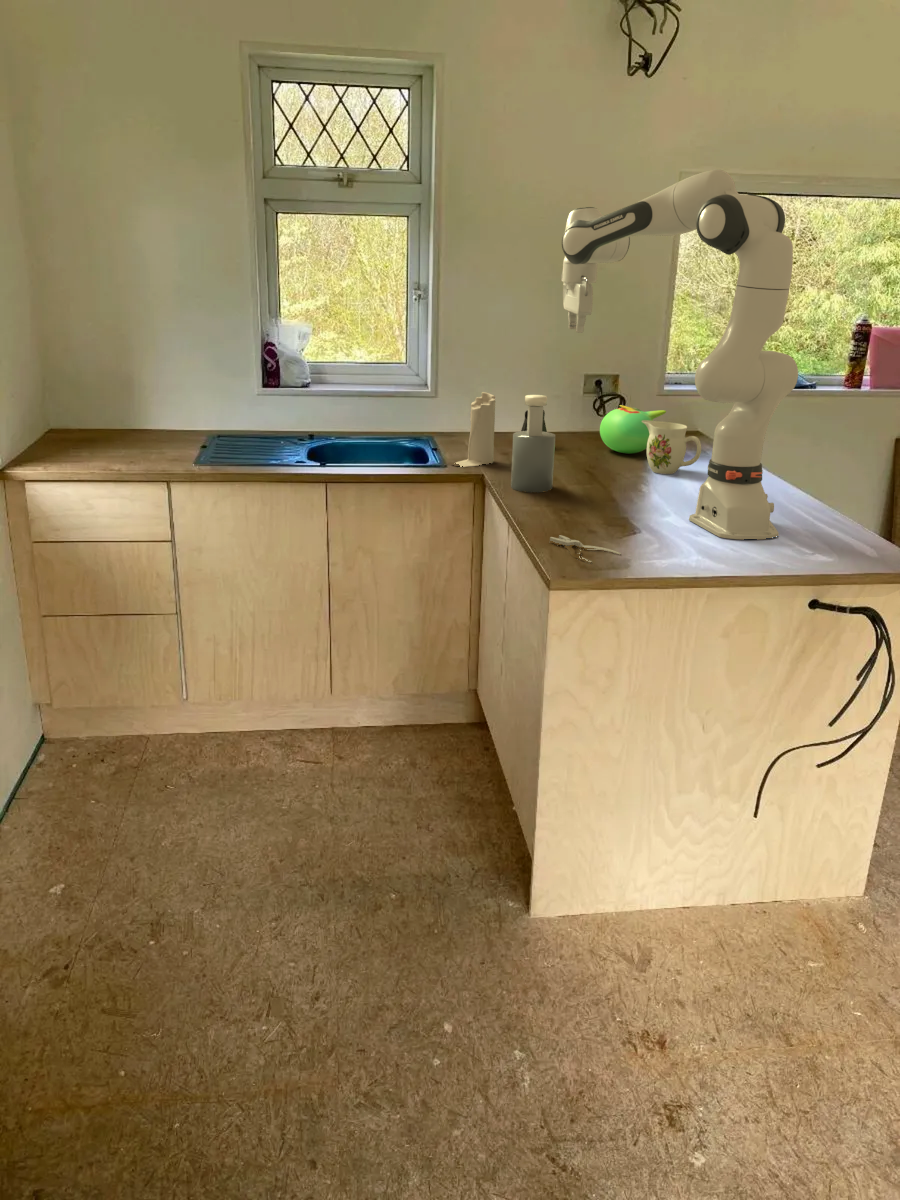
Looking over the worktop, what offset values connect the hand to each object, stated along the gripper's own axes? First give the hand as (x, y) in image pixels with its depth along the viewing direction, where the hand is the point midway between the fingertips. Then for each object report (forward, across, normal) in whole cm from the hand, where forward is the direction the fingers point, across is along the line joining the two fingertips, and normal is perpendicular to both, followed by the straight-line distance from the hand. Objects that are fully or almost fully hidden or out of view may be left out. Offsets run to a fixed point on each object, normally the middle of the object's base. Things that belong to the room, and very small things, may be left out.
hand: (575, 330), depth 245 cm
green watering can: (+39, +30, -25) cm, 55 cm away
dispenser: (+39, -13, +12) cm, 43 cm away
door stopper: (+39, +37, +4) cm, 54 cm away
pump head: (+24, -13, +12) cm, 30 cm away
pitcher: (+39, +4, -30) cm, 50 cm away
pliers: (+40, -66, +10) cm, 78 cm away
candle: (+39, +15, +25) cm, 49 cm away
